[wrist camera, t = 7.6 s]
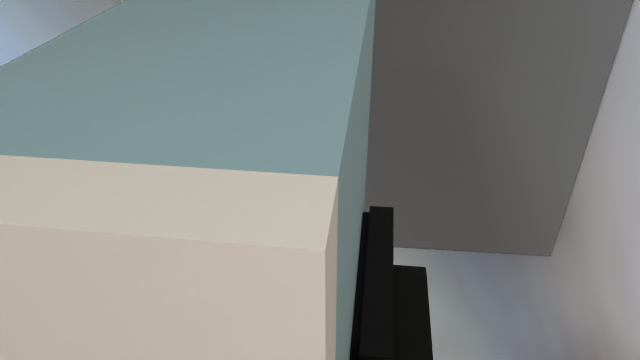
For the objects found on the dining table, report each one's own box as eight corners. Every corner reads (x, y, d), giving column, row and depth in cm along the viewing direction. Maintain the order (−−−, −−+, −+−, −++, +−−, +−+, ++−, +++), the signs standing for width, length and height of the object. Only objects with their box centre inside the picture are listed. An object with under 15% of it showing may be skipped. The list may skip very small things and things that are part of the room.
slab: (217, -49, 9) (-256, 201, 2) (378, -47, 9) (326, 249, 2) (250, 236, 13) (100, 630, 6) (362, 245, 13) (326, 671, 6)
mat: (279, -50, 16) (275, -47, 15) (640, -54, 14) (649, -51, 14) (299, 232, 22) (297, 241, 22) (546, 246, 21) (550, 256, 21)
